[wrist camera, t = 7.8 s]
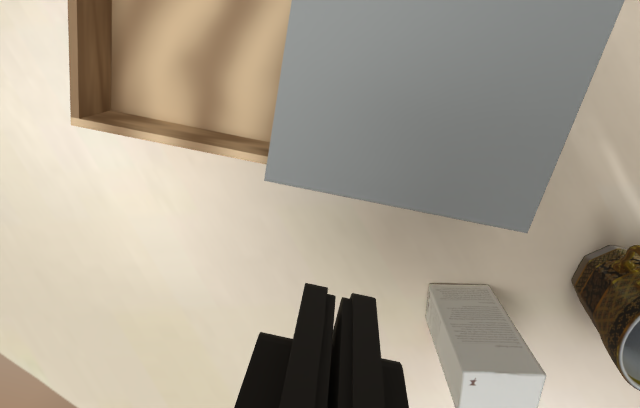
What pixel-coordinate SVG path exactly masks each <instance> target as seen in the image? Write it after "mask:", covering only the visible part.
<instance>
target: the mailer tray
mask: <svg viewBox="0 0 640 408" xmlns="http://www.w3.org/2000/svg"><path fill="white" fill-rule="evenodd" d="M291 2H292V0H68V29H69V67H70V105H71V125H73V126H78V127H83V128H88V129H93V130H98V131H103V132H108V133H113V134H118V135H123V136H128V137H133V138H138V139H143V140H148V141H153V142H158V143H163V144H168V145H173V146H178V147H183V148H188V149H192V150H197V151H202V152H207V153H212V154H217V155H222V156H227V157H232V158H237V159H242V160H247V161H252V162H257V163H262V164H267V159H268V153H269V146H270V140H271V133H272V127H273V120H274V113H275V107H276V100H277V94H278V87H279V81H280V74H281V67H282V61H283V54H284V48H285V41H286V35H287V28H288V21H289V15H290V8H291Z"/></svg>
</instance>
